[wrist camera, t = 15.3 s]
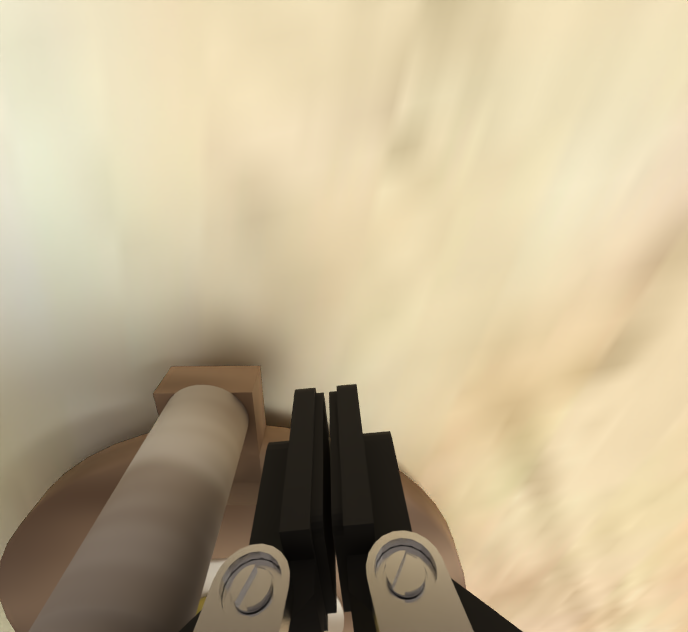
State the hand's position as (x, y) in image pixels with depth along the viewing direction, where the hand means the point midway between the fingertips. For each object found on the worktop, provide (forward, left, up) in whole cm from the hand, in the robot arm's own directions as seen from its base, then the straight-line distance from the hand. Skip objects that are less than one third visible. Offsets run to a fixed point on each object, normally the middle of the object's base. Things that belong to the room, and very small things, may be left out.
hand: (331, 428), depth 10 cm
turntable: (-11, +3, -3) cm, 12 cm away
